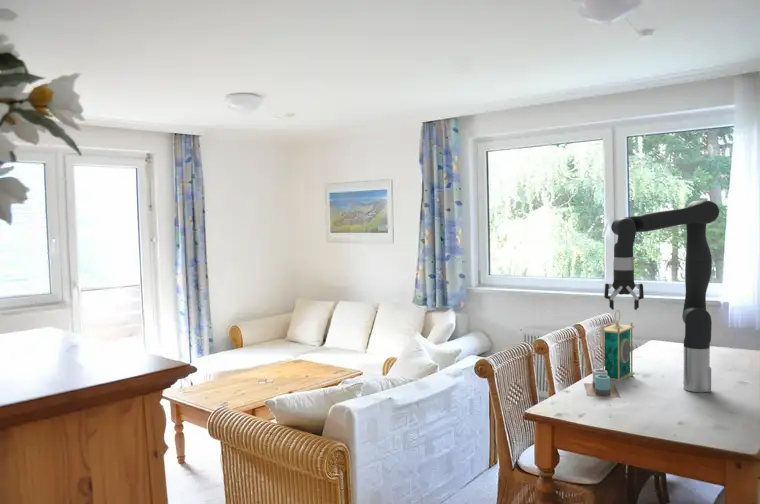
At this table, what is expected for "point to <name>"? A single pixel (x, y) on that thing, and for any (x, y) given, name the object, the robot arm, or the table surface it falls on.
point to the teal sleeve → (602, 385)
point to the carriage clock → (617, 350)
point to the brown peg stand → (591, 392)
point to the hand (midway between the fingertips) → (623, 309)
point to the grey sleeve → (598, 372)
